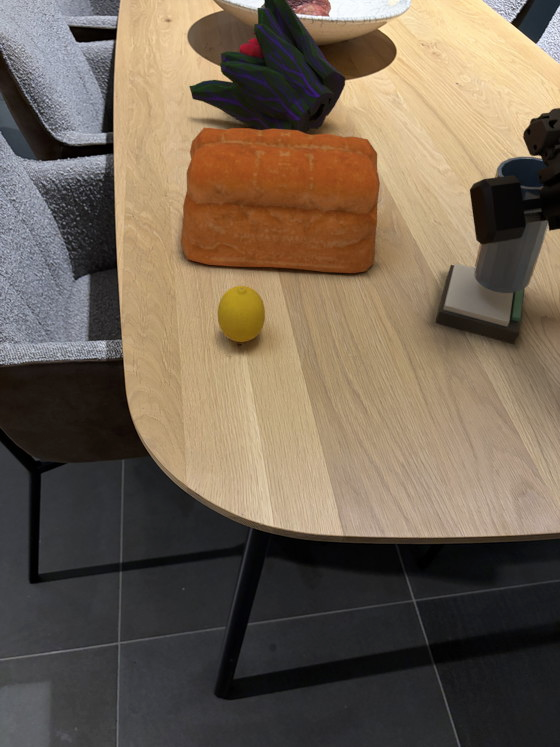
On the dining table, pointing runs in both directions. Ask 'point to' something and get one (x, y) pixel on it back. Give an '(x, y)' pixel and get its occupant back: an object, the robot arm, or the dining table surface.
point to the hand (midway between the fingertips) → (508, 217)
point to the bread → (281, 200)
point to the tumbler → (519, 256)
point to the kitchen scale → (479, 307)
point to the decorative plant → (275, 76)
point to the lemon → (241, 313)
